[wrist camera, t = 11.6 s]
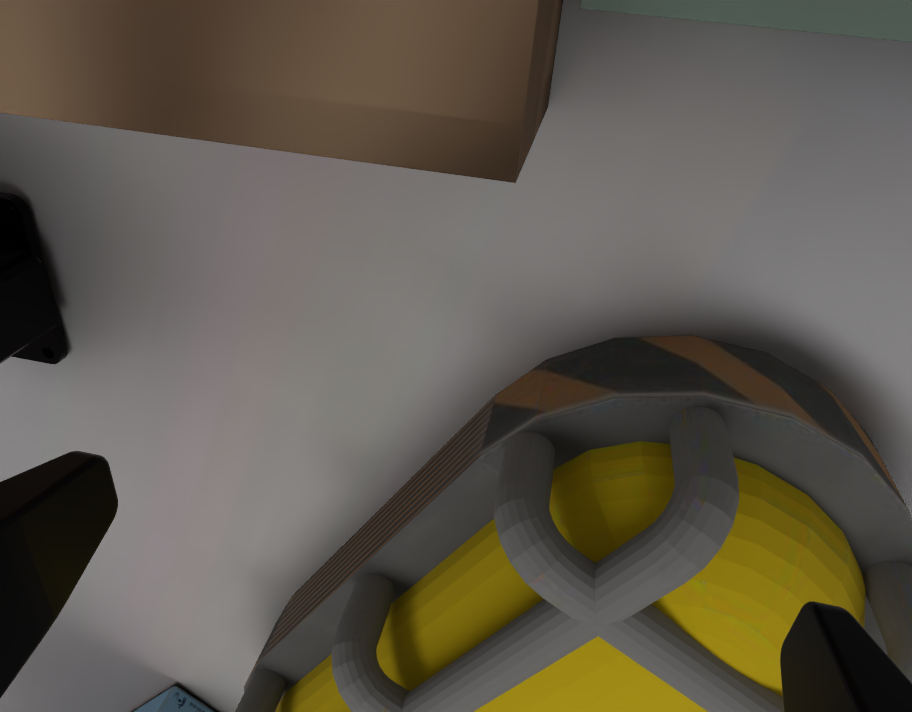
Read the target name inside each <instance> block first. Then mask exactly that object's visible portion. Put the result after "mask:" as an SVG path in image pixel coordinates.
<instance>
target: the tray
mask: <svg viewBox="0 0 912 712" xmlns="http://www.w3.org/2000/svg"><path fill="white" fill-rule="evenodd" d="M580 9H588V10H598V11H608V12H617V13H627V14H637V15H647V16H657V17H667V18H677V19H686V20H696V21H706V22H716V23H726V24H736V25H746V26H756V27H765V28H775V29H785V30H795V31H805V32H815V33H825V34H835V35H844V36H854V37H864V38H874V39H884V40H894V41H904V42H912V0H581V6H580Z"/></svg>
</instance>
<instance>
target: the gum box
mask: <svg viewBox="0 0 912 712" xmlns="http://www.w3.org/2000/svg"><path fill="white" fill-rule="evenodd" d="M134 712H214V711H213V710H211V709H210V708H209V707H207V706H206V705H204V704H203V703H201V702H200V701H198V700H197V699H195V698H194V697H192V696H191V695H189V694H188V693H187V692H185V691H184V690H182V689H181V688H179V687H177V686H174V687H171V688H170V689H168V690H167V691H165V692H164V693H162V694H160V695H159V696H157V697H156V698H154V699H153V700H151V701H149V702H148V703H146V704H144V705H143V706H141V707H140V708H138V709H137V710H135V711H134Z"/></svg>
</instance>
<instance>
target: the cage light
mask: <svg viewBox="0 0 912 712" xmlns="http://www.w3.org/2000/svg"><path fill="white" fill-rule="evenodd" d="M810 601H814V602H819V603H824V604H829V605H834V606H838V607H842V608H844V609H846V610H847V611H848V612H850V613H851V614H852V615H853V617H854V618H855V619H856V620H857V621H858V622H859V623H860V624H861V626H862V627H863V628H864V629H865V630H866V631H867V632H868V634H869V635H870V636H871V637H872V638H873V639H874V640H875V641H876V643H877V644H878V645H879V646H880V647H881V648H882V649H883V651H884V652H885V653H886V654H887V655H888V656H889V657H890V658H891V660H892V661H893V662H894V663H895V664H896V665H897V666H898V668H899V669H900V670H901V671H902V672H903V673H904V674H905V675H906V677H907V678H908V679H909V680H910V681H911V682H912V518H911V514H910V512H909V510H908V508H907V507H906V505H905V503H904V501H903V499H902V497H901V495H900V493H899V491H898V490H897V488H896V486H895V484H894V482H893V480H892V478H891V476H890V474H889V473H888V471H887V469H886V467H885V465H884V463H883V461H882V459H881V457H880V456H879V454H878V452H877V450H876V448H875V446H874V444H873V442H872V440H871V439H870V437H869V436H868V435H867V434H866V432H865V431H864V430H863V429H862V428H861V426H860V425H859V424H858V423H857V422H856V420H855V419H854V418H853V417H852V415H851V414H850V413H849V412H848V411H847V409H846V408H845V407H844V406H843V405H842V403H841V402H840V401H839V400H838V399H837V397H836V396H835V395H834V394H833V393H832V391H831V390H830V389H828V388H827V387H825V386H823V385H821V384H820V383H818V382H816V381H815V380H813V379H811V378H809V377H808V376H806V375H804V374H803V373H801V372H799V371H797V370H796V369H794V368H792V367H790V366H789V365H787V364H785V363H784V362H782V361H780V360H778V359H777V358H775V357H773V356H771V355H770V354H768V353H765V352H761V351H756V350H752V349H748V348H744V347H739V346H735V345H731V344H727V343H722V342H718V341H714V340H710V339H705V338H701V337H697V336H693V335H685V336H658V337H630V338H613V339H610V340H607V341H604V342H601V343H597V344H594V345H591V346H588V347H585V348H582V349H578V350H575V351H572V352H569V353H566V354H563V355H560V356H556V357H553V358H550V359H547V360H545V361H544V362H542V363H541V364H540V365H538V366H537V367H535V368H534V369H532V370H531V371H530V372H528V373H527V374H525V375H524V376H522V377H521V378H520V379H518V380H517V381H515V382H514V383H512V384H511V385H509V386H508V387H507V388H505V389H504V390H502V391H501V392H499V393H498V394H497V395H495V396H494V397H493V398H492V399H491V400H490V401H489V402H488V403H487V404H486V405H485V406H484V407H483V408H482V409H481V410H480V411H479V412H478V413H477V414H476V415H475V416H474V417H473V418H472V419H471V420H470V421H469V422H468V423H467V424H466V425H465V426H464V427H463V428H462V429H461V430H460V431H459V432H458V433H457V434H456V435H455V436H454V437H453V438H452V439H451V440H450V441H449V442H448V443H447V444H446V445H445V446H444V447H443V448H442V449H441V450H440V451H439V452H438V453H437V454H436V455H435V456H434V457H433V458H432V459H431V460H429V461H428V462H427V463H426V464H425V465H424V466H423V467H422V468H421V469H420V470H419V471H418V472H417V473H416V474H415V475H414V476H413V477H412V478H411V479H410V480H409V481H408V482H407V483H406V484H405V485H404V486H403V487H402V488H401V489H400V490H399V491H398V492H397V493H396V494H395V495H394V496H393V497H392V498H391V499H390V500H389V501H388V502H387V503H386V504H385V505H384V506H383V507H382V508H381V509H380V510H379V511H378V512H377V513H376V514H375V515H374V516H373V517H372V518H371V519H370V520H369V521H368V522H367V523H366V524H365V525H364V526H363V527H362V528H361V529H360V530H359V531H358V532H357V533H356V534H355V535H354V536H353V537H352V538H351V539H350V540H349V541H347V542H346V543H345V544H344V545H343V546H342V547H341V548H340V549H339V550H338V551H337V552H336V553H335V554H334V555H333V556H332V557H331V558H330V559H329V560H328V561H327V562H326V563H325V564H324V565H323V566H322V567H321V568H320V569H319V570H318V571H317V572H316V573H315V574H314V575H313V576H312V577H311V578H310V579H309V580H308V581H307V582H306V583H305V584H304V585H303V586H302V587H301V588H300V589H299V590H298V591H297V592H296V593H295V594H294V595H293V596H292V597H291V599H290V601H289V602H288V604H287V606H286V607H285V609H284V611H283V612H282V614H281V616H280V617H279V619H278V621H277V622H276V624H275V626H274V628H273V630H272V632H271V634H270V636H269V638H268V640H267V642H266V644H265V646H264V648H263V650H262V652H261V654H260V656H259V658H258V660H257V662H256V664H255V666H254V668H253V670H252V672H251V674H250V676H249V678H248V680H247V682H246V684H245V686H244V695H243V697H242V699H241V701H240V703H239V705H238V707H237V709H236V711H235V712H784V705H783V693H782V681H781V668H780V654H781V648H782V644H783V642H784V640H785V638H786V636H787V634H788V632H789V630H790V628H791V627H792V625H793V623H794V621H795V619H796V617H797V615H798V613H799V612H800V610H801V608H802V607H803V605H804V604H806V603H807V602H810Z"/></svg>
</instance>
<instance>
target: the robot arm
mask: <svg viewBox="0 0 912 712" xmlns="http://www.w3.org/2000/svg"><path fill="white" fill-rule="evenodd" d="M10 207H11V208H12V209H13V211H14V213H15V214H14V213H13V212H12V211H11V209H10ZM67 354H68V352H67V347H66V343H65V339H64V335H63V332H62V328H61V324H60V320H59V317H58V313H57V309H56V305H55V302H54V298H53V294H52V291H51V287H50V283H49V279H48V276H47V272H46V268H45V264H44V261H43V257H42V253H41V249H40V246H39V242H38V238H37V235H36V231H35V227H34V223H33V220H32V216H31V212H30V209H29V207H28V205H27V204H26V203H25V201H24V200H23V199H21V198H20V197H19V196H16V195H13V194H7V193H1V192H0V363H2V362H3V361H5V360H6V359H8V358H9V357H11V356H12V357H17V358H22V359H28V360H33V361H38V362H44V363H49V364H56V363H58V362H60V361H61V360H62V359H64V358H65V357H66V356H67ZM117 508H118V498H117V494H116V490H115V486H114V482H113V478H112V475H111V471H110V467H109V464H108V461H107V460H106V459H105V458H104V457H102V456H100V455H96V454H91V453H86V452H81V451H73V452H70V453H67V454H64V455H62V456H60V457H57V458H55V459H53V460H51V461H48V462H46V463H44V464H41V465H39V466H37V467H34V468H32V469H30V470H27V471H25V472H23V473H20V474H18V475H16V476H13V477H11V478H9V479H6V480H4V481H2V482H0V698H1V697H2V695H3V694H4V692H5V691H6V690H7V688H8V687H9V685H10V684H11V683H12V681H13V680H14V678H15V677H16V675H17V674H18V673H19V671H20V670H21V668H22V667H23V666H24V664H25V663H26V661H27V660H28V659H29V657H30V656H31V654H32V653H33V651H34V650H35V649H36V647H37V646H38V644H39V643H40V642H41V640H42V639H43V637H44V636H45V634H46V633H47V631H48V630H49V628H50V627H51V626H52V624H53V623H54V621H55V620H56V618H57V616H58V615H59V613H60V611H61V610H62V608H63V607H64V605H65V603H66V602H67V600H68V598H69V596H70V595H71V593H72V591H73V589H74V588H75V586H76V584H77V583H78V581H79V579H80V577H81V576H82V574H83V572H84V570H85V569H86V567H87V565H88V563H89V562H90V560H91V558H92V556H93V555H94V553H95V551H96V549H97V548H98V546H99V544H100V542H101V541H102V539H103V537H104V535H105V534H106V532H107V530H108V528H109V527H110V525H111V523H112V521H113V520H114V517H115V515H116V512H117ZM780 668H781V681H782V693H783V705H784V712H912V682H911V681H910V680H909V679H908V678H907V677H906V675H905V674H904V673H903V672H902V671H901V670H900V669H899V668H898V666H897V665H896V664H895V663H894V662H893V661H892V660H891V658H890V657H889V656H888V655H887V654H886V653H885V652H884V651H883V649H882V648H881V647H880V646H879V645H878V644H877V643H876V641H875V640H874V639H873V638H872V637H871V636H870V635H869V634H868V632H867V631H866V630H865V629H864V628H863V627H862V626H861V624H860V623H859V622H858V621H857V620H856V619H855V618H854V617H853V615H852V614H851V613H850V612H848V611H847V610H846V609H844V608H842V607H838V606H834V605H829V604H824V603H819V602H814V601H810V602H807V603H806V604H804V605H803V607H802V608H801V610H800V612H799V613H798V615H797V617H796V619H795V621H794V623H793V625H792V627H791V628H790V630H789V632H788V634H787V636H786V638H785V640H784V642H783V644H782V648H781V654H780Z"/></svg>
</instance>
